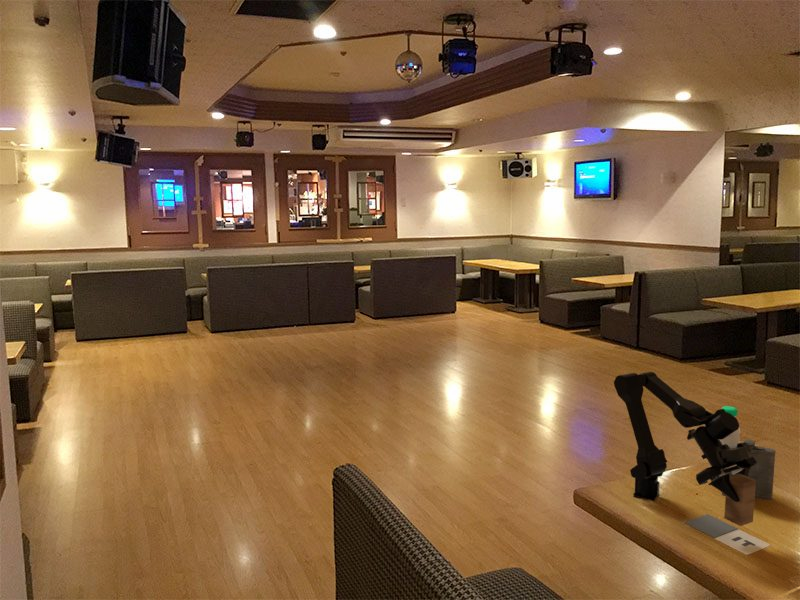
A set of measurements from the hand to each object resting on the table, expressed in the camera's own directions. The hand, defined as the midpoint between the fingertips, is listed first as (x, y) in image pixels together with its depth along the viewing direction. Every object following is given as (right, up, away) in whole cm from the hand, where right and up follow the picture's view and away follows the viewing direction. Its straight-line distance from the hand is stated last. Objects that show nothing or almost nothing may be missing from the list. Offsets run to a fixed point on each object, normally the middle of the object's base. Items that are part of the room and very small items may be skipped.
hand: (744, 499), depth 179 cm
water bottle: (+15, -6, +41) cm, 44 cm away
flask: (+16, -8, +30) cm, 35 cm away
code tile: (0, -13, +2) cm, 13 cm away
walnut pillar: (0, -6, +2) cm, 7 cm away
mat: (-4, -11, +11) cm, 16 cm away
